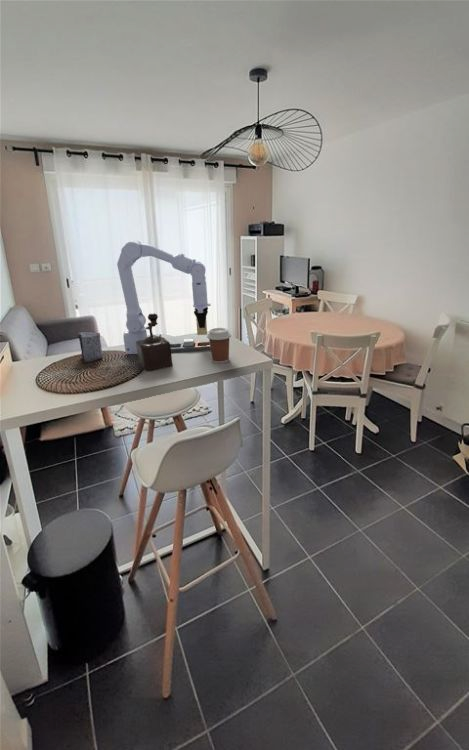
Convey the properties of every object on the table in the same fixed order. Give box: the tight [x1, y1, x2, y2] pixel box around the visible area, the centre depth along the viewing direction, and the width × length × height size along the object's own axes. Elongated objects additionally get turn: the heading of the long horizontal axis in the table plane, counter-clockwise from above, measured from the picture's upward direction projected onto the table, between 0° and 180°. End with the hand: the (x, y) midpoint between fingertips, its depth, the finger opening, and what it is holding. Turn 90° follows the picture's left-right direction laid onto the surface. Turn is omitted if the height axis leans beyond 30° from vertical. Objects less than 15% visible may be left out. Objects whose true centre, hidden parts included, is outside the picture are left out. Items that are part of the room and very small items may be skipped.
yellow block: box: [195, 317, 208, 336], centre depth 150 cm, size 4×4×7 cm
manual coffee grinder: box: [136, 312, 174, 372], centre depth 136 cm, size 16×11×18 cm
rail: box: [170, 340, 211, 353], centre depth 153 cm, size 20×7×2 cm, turn 93°
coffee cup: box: [206, 327, 232, 364], centre depth 136 cm, size 9×9×12 cm
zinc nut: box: [183, 338, 195, 347], centre depth 153 cm, size 4×4×4 cm
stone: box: [77, 331, 105, 363], centre depth 145 cm, size 12×10×10 cm
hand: (202, 326), depth 150 cm, fingers closed on yellow block, 4 cm apart
